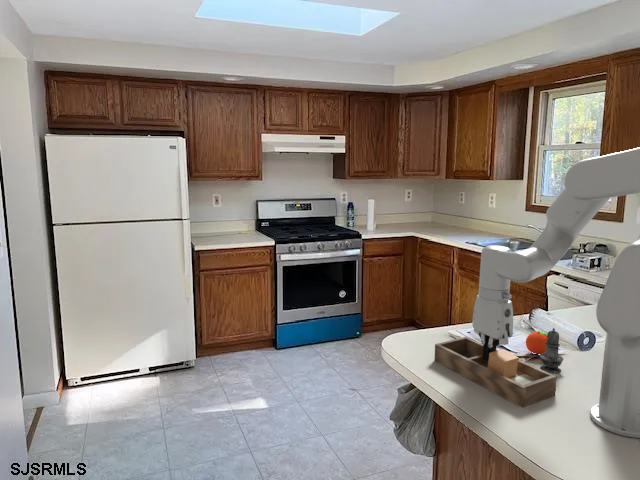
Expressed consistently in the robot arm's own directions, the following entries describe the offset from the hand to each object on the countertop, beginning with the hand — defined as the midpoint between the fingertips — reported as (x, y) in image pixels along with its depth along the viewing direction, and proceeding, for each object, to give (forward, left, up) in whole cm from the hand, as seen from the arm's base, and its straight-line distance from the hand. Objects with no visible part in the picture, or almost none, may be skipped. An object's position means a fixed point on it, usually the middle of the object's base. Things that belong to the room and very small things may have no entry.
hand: (488, 359), depth 127 cm
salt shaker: (-6, -18, -5) cm, 20 cm away
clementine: (+2, -24, -5) cm, 25 cm away
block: (-4, 0, -2) cm, 5 cm away
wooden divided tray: (-1, 0, -5) cm, 5 cm away
